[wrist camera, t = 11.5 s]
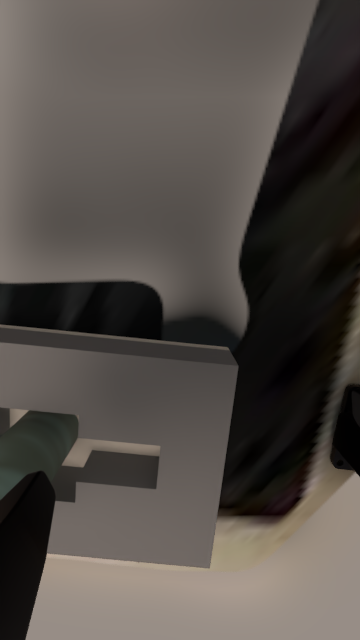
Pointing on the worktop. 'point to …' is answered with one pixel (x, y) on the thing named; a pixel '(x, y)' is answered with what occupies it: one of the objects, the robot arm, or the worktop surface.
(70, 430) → the teal post
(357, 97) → the worktop surface
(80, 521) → the keyhole plate
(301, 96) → the worktop surface
